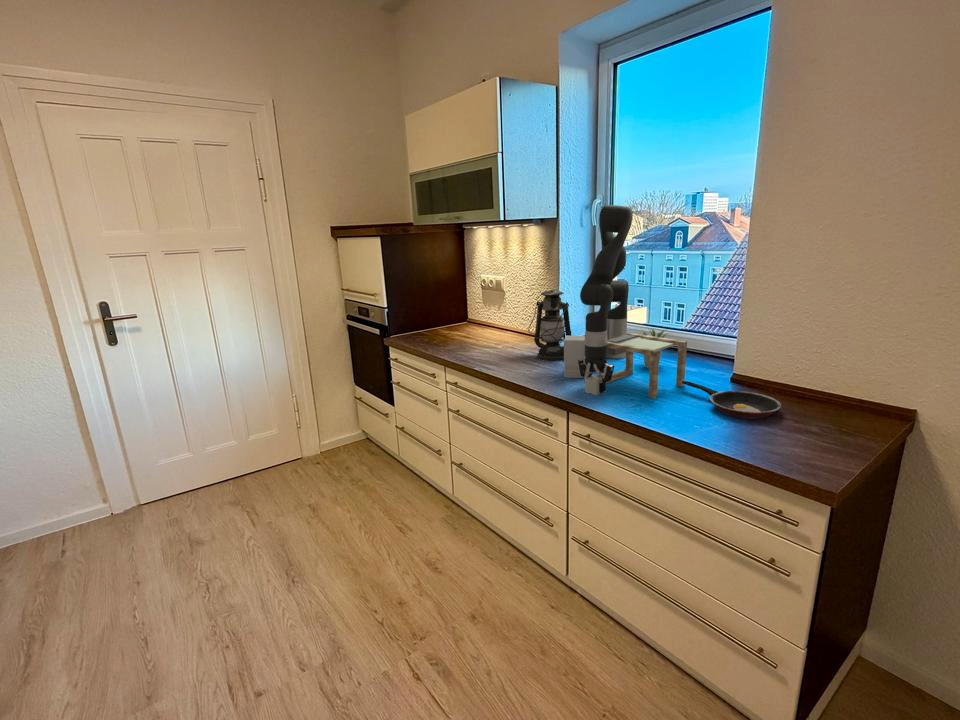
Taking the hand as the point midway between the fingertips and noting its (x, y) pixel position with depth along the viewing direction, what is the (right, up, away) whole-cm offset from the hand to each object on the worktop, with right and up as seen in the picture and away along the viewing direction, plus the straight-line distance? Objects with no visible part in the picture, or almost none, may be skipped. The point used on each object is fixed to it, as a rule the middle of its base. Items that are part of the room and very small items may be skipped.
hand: (595, 390), depth 167 cm
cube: (0, 0, 0) cm, 0 cm away
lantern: (-9, +11, +47) cm, 49 cm away
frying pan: (+36, -3, -17) cm, 40 cm away
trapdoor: (+16, +13, +3) cm, 21 cm away
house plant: (+30, +8, +26) cm, 41 cm away
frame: (+17, +2, +5) cm, 18 cm away
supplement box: (-2, +5, +21) cm, 21 cm away
